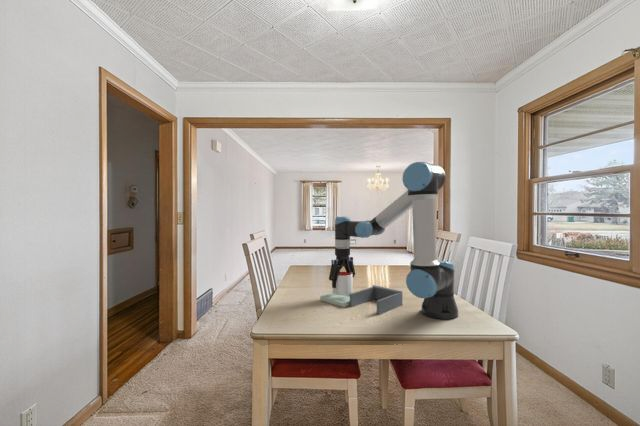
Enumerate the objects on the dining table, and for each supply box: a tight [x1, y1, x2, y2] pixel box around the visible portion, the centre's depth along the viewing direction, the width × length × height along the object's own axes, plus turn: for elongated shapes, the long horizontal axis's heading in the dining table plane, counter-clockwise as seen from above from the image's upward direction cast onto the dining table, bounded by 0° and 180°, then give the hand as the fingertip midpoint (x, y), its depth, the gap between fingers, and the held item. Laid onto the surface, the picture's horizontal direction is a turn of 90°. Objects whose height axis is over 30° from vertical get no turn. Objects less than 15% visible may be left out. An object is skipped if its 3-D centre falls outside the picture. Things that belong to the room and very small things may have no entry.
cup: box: [334, 271, 354, 296], centre depth 160 cm, size 10×10×10 cm
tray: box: [319, 292, 350, 309], centre depth 160 cm, size 16×16×2 cm
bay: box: [349, 284, 403, 316], centre depth 151 cm, size 16×19×7 cm
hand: (342, 292), depth 160 cm, fingers closed on cup, 10 cm apart
